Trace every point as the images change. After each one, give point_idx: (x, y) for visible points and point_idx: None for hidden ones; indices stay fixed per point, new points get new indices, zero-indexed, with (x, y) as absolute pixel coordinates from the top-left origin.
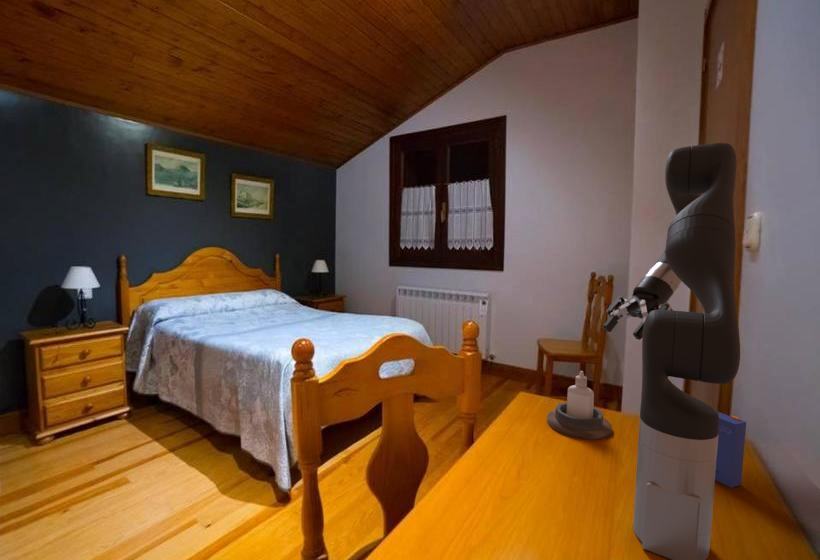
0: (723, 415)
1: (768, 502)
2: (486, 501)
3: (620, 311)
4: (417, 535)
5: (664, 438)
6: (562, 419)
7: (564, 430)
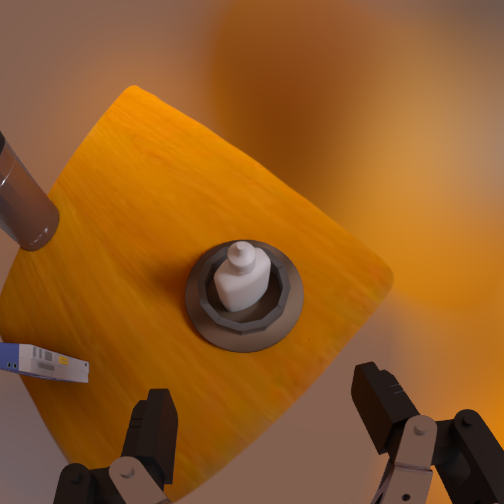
0: (3, 360)
1: None
2: (136, 126)
3: (391, 469)
4: (132, 93)
5: None
6: None
7: (217, 246)
